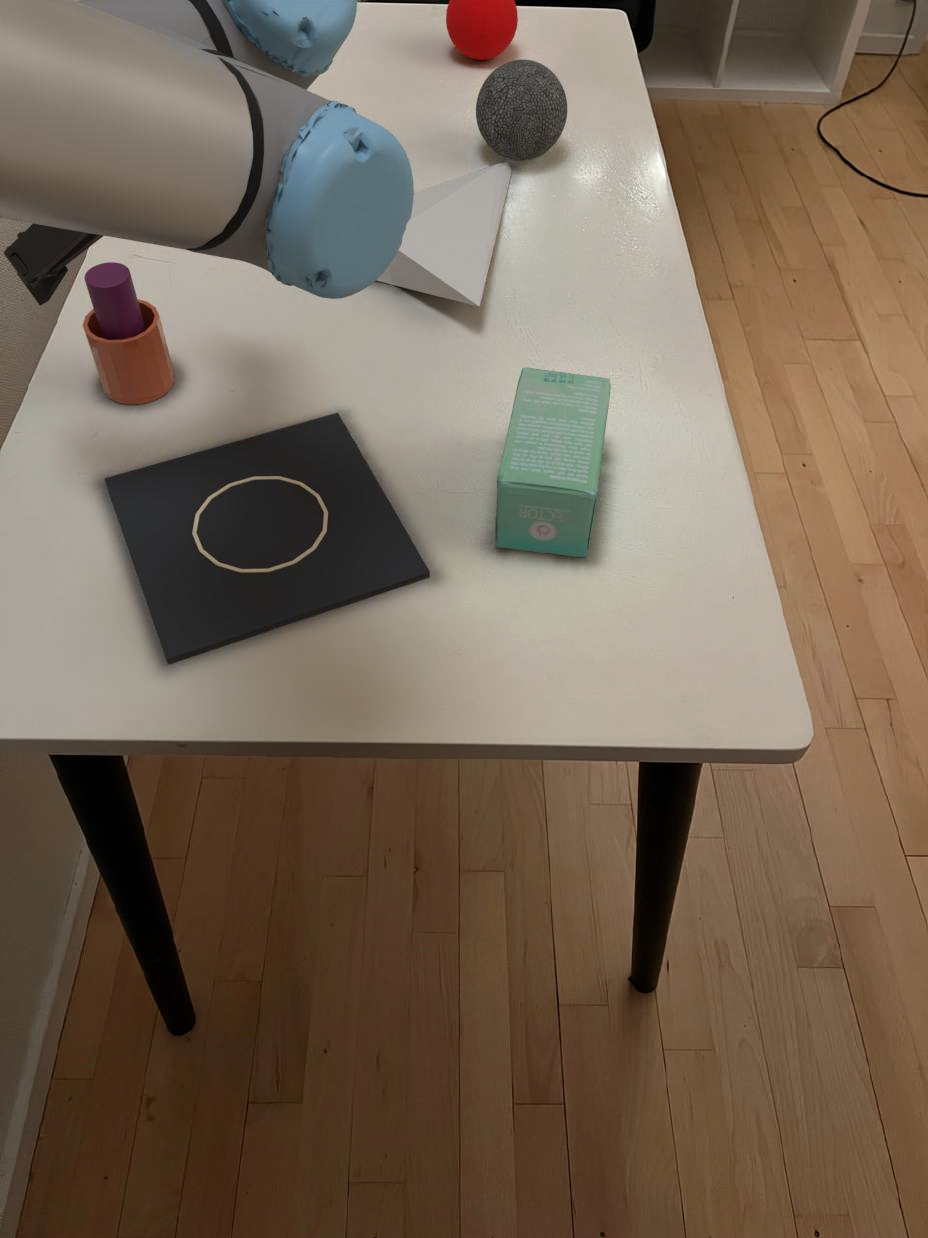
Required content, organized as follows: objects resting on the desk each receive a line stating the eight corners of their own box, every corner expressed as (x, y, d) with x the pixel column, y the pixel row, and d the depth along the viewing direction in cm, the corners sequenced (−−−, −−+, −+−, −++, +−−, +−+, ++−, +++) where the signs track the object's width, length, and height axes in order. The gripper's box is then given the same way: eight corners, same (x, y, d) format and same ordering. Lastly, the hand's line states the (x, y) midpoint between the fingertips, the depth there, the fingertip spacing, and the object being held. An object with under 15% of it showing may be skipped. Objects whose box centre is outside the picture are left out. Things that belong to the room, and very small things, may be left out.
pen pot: (111, 412, 91) (91, 349, 86) (96, 370, 95) (76, 308, 90) (182, 393, 93) (166, 330, 88) (164, 353, 96) (148, 291, 91)
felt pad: (168, 664, 74) (166, 658, 74) (105, 483, 86) (103, 477, 85) (430, 576, 79) (430, 570, 79) (338, 417, 91) (337, 411, 90)
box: (492, 552, 81) (495, 480, 75) (514, 436, 89) (519, 364, 84) (587, 564, 80) (599, 493, 75) (601, 447, 89) (612, 374, 83)
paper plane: (610, 200, 114) (615, 163, 110) (478, 339, 98) (479, 300, 95) (410, 139, 122) (408, 102, 118) (258, 258, 106) (252, 220, 103)
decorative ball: (565, 178, 116) (573, 85, 109) (474, 176, 116) (475, 83, 109) (562, 134, 123) (569, 43, 115) (476, 133, 123) (477, 42, 115)
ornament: (485, 35, 140) (486, -50, 132) (530, 58, 135) (535, -28, 127) (431, 54, 136) (430, -33, 128) (477, 78, 132) (478, -9, 124)
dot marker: (121, 395, 92) (89, 291, 84) (112, 371, 94) (80, 267, 86) (162, 385, 93) (134, 280, 85) (152, 361, 95) (124, 257, 87)
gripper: (67, 257, 60) (0, 366, 78) (371, 103, 72) (253, 227, 90) (-20, 135, 58) (-68, 275, 76) (308, -3, 70) (200, 146, 88)
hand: (106, 249), depth 83 cm, fingers open, 13 cm apart
